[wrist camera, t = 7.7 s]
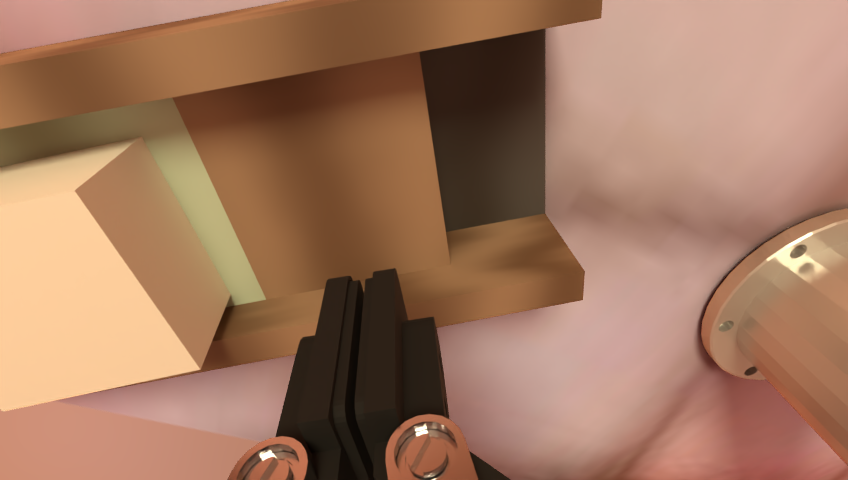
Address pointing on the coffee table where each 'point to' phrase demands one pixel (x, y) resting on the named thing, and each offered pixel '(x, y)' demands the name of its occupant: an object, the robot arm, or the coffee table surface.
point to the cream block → (98, 276)
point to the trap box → (327, 150)
